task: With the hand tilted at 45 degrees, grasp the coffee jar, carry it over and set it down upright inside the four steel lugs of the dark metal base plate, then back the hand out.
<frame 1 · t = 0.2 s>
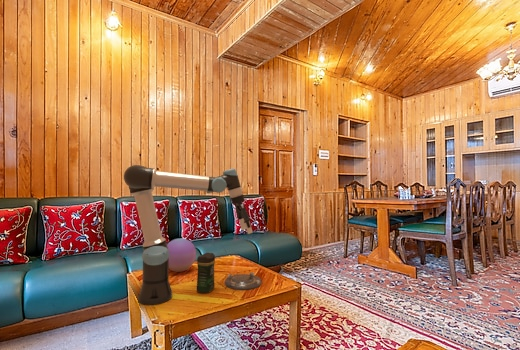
hand: (247, 231, 163), 27 cm above the table, tool tilted 15°, fingers open, 13 cm apart
lug base plate: (243, 283, 157), on the table
coffee jar: (205, 290, 146), on the table
ball: (179, 271, 176), on the table
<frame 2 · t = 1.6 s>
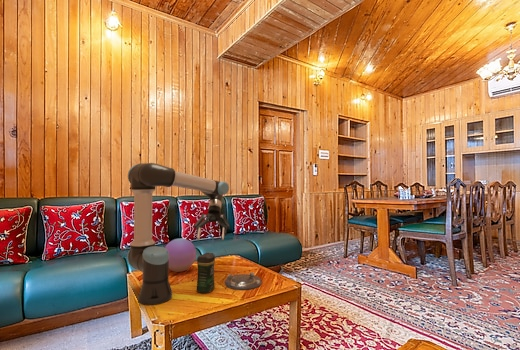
hand: (210, 238, 158), 24 cm above the table, tool tilted 45°, fingers open, 13 cm apart
nothing on the table moved.
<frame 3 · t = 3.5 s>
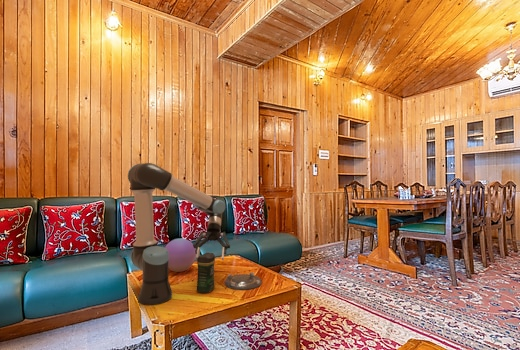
hand: (209, 259, 152), 14 cm above the table, tool tilted 45°, fingers open, 13 cm apart
nothing on the table moved.
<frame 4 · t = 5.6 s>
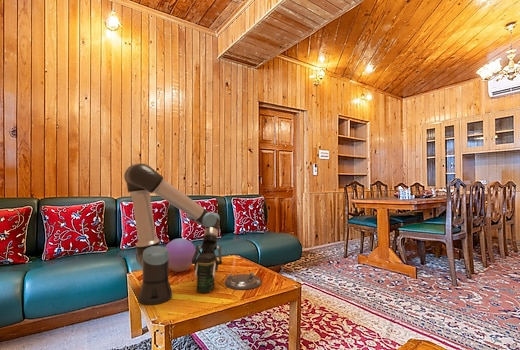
hand: (204, 276, 143), 8 cm above the table, tool tilted 45°, fingers closed on coffee jar, 8 cm apart
coffee jar: (205, 290, 147), on the table, touching gripper
everything else where it was.
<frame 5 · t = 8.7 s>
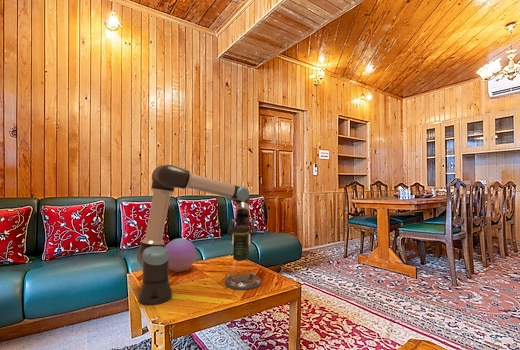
hand: (241, 245, 153), 21 cm above the table, tool tilted 45°, fingers closed on coffee jar, 8 cm apart
coffee jar: (241, 259, 156), point 13 cm above the table, touching gripper
everything else where it was.
when the fingers open (12 cm above the table, at t = 11.4 s): coffee jar drops 2 cm, resting on lug base plate.
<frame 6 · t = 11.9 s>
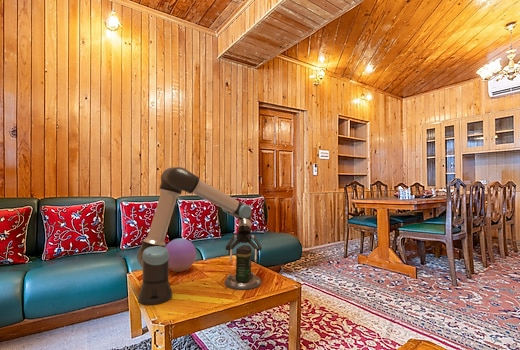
hand: (243, 261, 154), 13 cm above the table, tool tilted 45°, fingers open, 13 cm apart
coffee jar: (243, 280, 157), point 1 cm above the table, touching lug base plate
everything else where it was.
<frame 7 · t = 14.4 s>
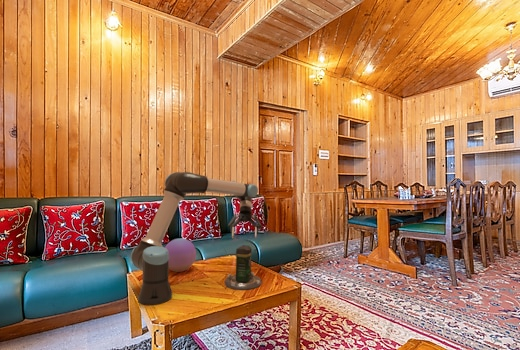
hand: (244, 237, 168), 23 cm above the table, tool tilted 45°, fingers open, 13 cm apart
nothing on the table moved.
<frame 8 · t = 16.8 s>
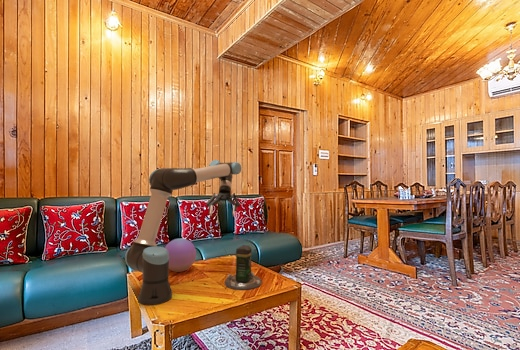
hand: (222, 214, 169), 36 cm above the table, tool tilted 45°, fingers open, 13 cm apart
nothing on the table moved.
at the end: coffee jar inside the target area on the lug base plate (0.3 cm from its centre), point 1.4 cm above the lug base plate's base; coffee jar tilted 0°; the gripper is holding nothing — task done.
